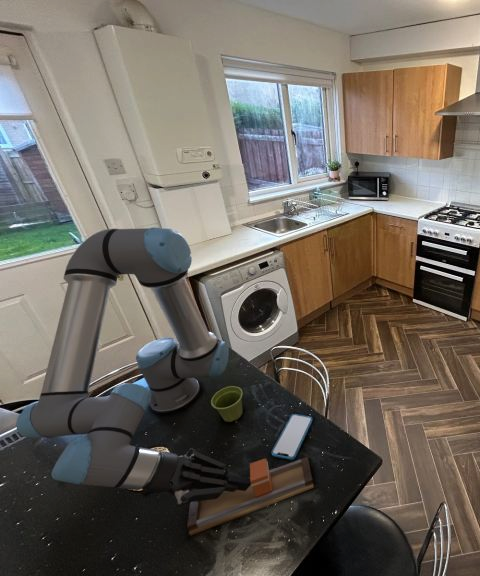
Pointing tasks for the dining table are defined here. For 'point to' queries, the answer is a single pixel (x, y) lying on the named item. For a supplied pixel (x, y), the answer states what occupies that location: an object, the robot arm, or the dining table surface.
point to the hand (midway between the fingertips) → (248, 484)
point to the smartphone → (292, 437)
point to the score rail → (250, 497)
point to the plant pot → (228, 403)
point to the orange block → (260, 478)
